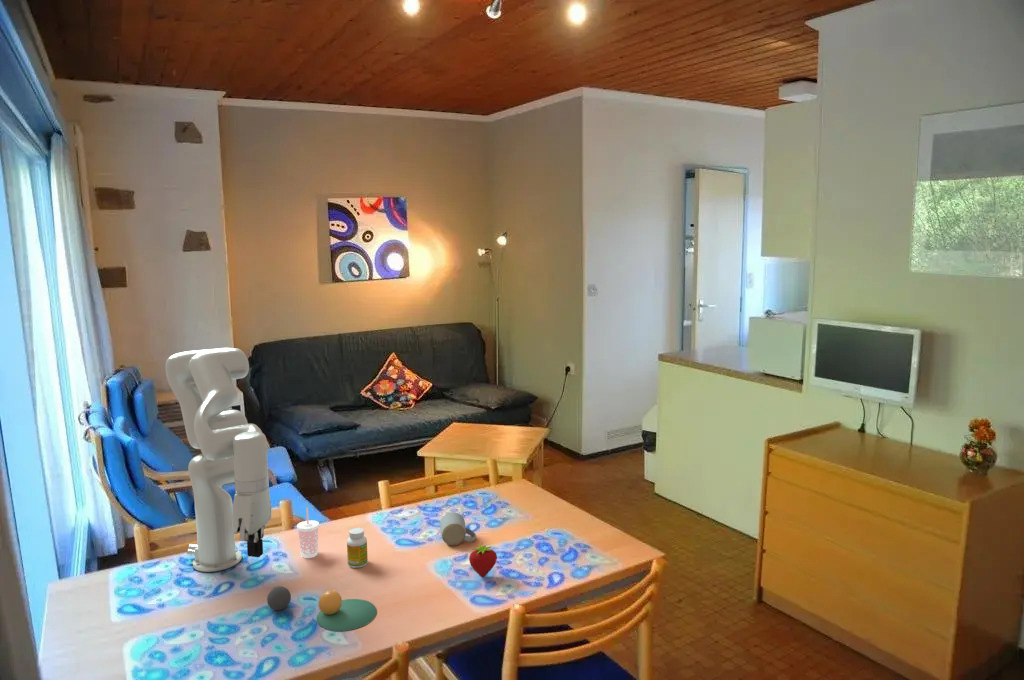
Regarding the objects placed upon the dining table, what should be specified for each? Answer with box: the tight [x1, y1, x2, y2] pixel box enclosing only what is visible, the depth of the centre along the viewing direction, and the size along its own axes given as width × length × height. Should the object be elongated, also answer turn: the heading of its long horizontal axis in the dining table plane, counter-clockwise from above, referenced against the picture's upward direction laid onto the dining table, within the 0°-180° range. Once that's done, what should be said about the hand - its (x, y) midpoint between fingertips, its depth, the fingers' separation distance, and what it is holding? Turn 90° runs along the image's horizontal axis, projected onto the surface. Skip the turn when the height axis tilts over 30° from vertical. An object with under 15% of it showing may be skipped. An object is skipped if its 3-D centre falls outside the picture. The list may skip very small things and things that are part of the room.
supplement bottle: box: [346, 527, 368, 569], centre depth 188 cm, size 5×5×10 cm
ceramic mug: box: [439, 511, 477, 546], centre depth 203 cm, size 11×8×8 cm
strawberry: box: [468, 542, 498, 578], centre depth 181 cm, size 6×8×10 cm
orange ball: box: [318, 589, 343, 615], centre depth 163 cm, size 6×6×6 cm
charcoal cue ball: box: [266, 585, 292, 611], centre depth 165 cm, size 6×6×6 cm
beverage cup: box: [296, 507, 320, 559], centre depth 194 cm, size 6×6×14 cm
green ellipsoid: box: [316, 598, 378, 632], centre depth 163 cm, size 14×14×1 cm
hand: (255, 555), depth 166 cm, fingers closed
